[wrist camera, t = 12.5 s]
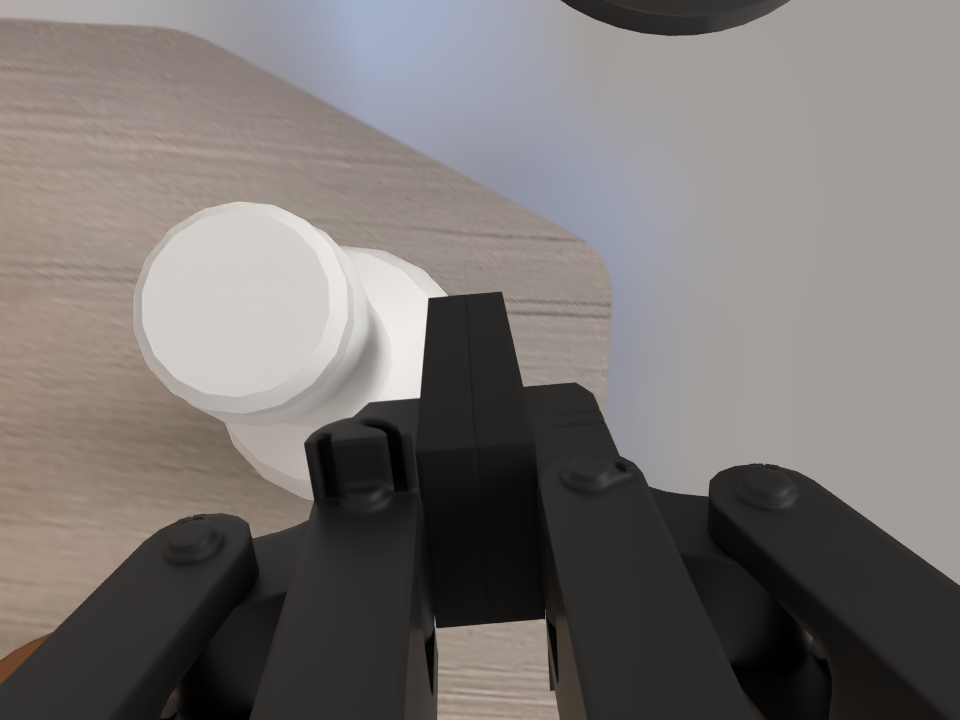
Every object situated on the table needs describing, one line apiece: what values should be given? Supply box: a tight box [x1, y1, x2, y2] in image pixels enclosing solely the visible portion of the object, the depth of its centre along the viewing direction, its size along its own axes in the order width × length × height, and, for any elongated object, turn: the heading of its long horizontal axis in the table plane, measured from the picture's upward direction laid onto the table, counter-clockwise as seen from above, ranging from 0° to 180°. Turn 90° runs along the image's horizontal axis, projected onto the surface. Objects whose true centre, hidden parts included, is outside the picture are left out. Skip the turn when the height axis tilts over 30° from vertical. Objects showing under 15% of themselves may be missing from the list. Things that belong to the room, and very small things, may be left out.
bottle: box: [133, 201, 448, 500], centre depth 27 cm, size 8×8×30 cm
